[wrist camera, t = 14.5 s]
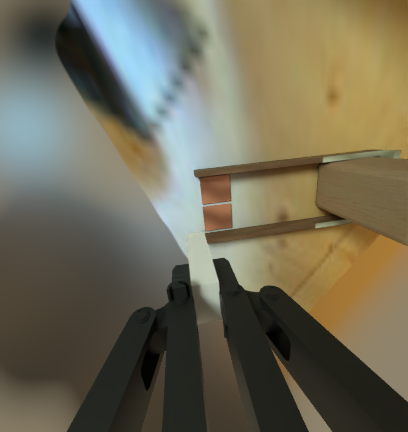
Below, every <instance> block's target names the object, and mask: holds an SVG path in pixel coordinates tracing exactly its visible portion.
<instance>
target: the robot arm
mask: <svg viewBox="0 0 408 432" xmlns="http://www.w3.org/2000/svg"><path fill="white" fill-rule="evenodd" d="M186 236H187V247H188V258H189V264H184V265H177V266H175V268H174V269H173V271H172V283H170V284H169V286H168V288H167V294H168V299H169V302H168V303H167V304H166V305H165V306H164V307H162V308H160V309H158V310H154V309H152V308H150V307H144V308H141V309H138V310H136V311H135V312H134V313H133V314H132V315H131V316H130V318H129V320H128V322H127V323H126V325H125V327H124V329H123V331H122V332H121V334H120V336H119V338H118V340H117V341H116V343H115V345H114V347H113V349H112V351H111V352H110V354H109V356H108V358H107V360H106V361H105V363H104V365H103V367H102V369H101V370H100V372H99V374H98V376H97V378H96V380H95V381H94V383H93V385H92V387H91V389H90V390H89V392H88V394H87V396H86V398H85V400H84V401H83V403H82V405H81V407H80V409H79V410H78V412H77V414H76V416H75V418H74V419H73V422H72V423H71V425H70V427H69V429H68V431H67V432H141V429H142V425H143V422H144V419H145V415H146V412H147V409H148V405H149V401H150V399H151V395H152V392H153V389H154V385H155V382H156V379H157V375H158V372H159V368H160V365H161V362H162V358H163V355H164V351H166V368H165V387H164V405H163V423H162V432H209V424H208V415H207V406H206V396H205V388H204V378H203V369H202V361H201V352H200V343H199V334H198V327H197V324H201V323H206V322H212V321H217V320H222V318H223V325H224V337H225V338H226V339H227V343H228V347H229V351H230V355H231V360H232V364H233V367H234V371H235V376H236V380H237V384H238V388H239V392H240V396H241V400H242V404H243V408H244V412H245V416H246V420H247V424H248V428H249V432H309V431H308V429H307V427H306V425H305V423H304V420H303V418H302V416H301V414H300V411H299V409H298V407H297V405H296V403H295V401H294V398H293V396H292V394H291V392H290V389H289V387H288V385H287V383H286V381H285V378H284V376H283V374H282V372H281V370H280V368H279V365H278V363H277V361H276V359H275V357H274V354H273V352H272V350H273V351H274V353H275V354H276V355H277V357H278V358H279V359H280V361H281V362H282V364H283V365H284V366H285V368H286V369H287V370H288V372H289V373H290V374H291V376H292V377H293V379H294V380H295V381H296V383H297V384H298V385H299V387H300V388H301V389H302V391H303V392H304V394H305V395H306V396H307V398H308V399H309V400H310V402H311V403H312V404H313V405H314V407H315V409H316V410H317V411H318V413H319V414H320V415H321V417H322V418H323V419H324V421H325V422H326V424H327V425H328V426H329V428H330V429H331V430H332V432H408V402H407V401H406V400H404V398H403V397H401V396H400V395H399V394H398V393H397V392H396V391H394V389H392V388H391V387H390V386H389V385H388V384H387V383H386V382H385V381H384V380H382V379H381V378H380V377H379V376H378V375H377V374H376V373H375V372H373V371H372V370H371V369H370V368H369V367H368V366H367V365H366V364H364V363H363V362H362V361H361V360H360V359H359V358H358V357H357V356H356V355H354V354H353V353H352V352H351V351H350V350H349V349H348V348H346V347H345V346H344V345H343V344H342V343H341V342H340V341H339V340H337V338H335V337H334V336H333V335H332V334H331V333H330V332H329V331H328V330H326V329H325V328H324V327H323V326H322V325H321V324H320V323H319V322H317V321H316V320H315V319H314V318H313V317H312V316H311V315H309V313H307V312H306V311H305V310H304V309H303V308H302V307H301V306H300V305H298V304H297V303H296V302H295V301H294V300H293V299H292V298H291V297H290V296H288V295H287V294H286V293H285V292H284V291H283V290H281V289H280V288H278V287H275V286H264V287H263V288H261V289H260V291H259V292H250V291H247V290H244V289H243V287H242V286H241V285H239V284H238V281H237V279H236V277H235V274H234V272H233V270H232V268H231V265H230V263H229V261H228V260H226V259H225V258H219V259H213V260H212V257H211V254H210V251H209V247H208V244H207V241H206V237H205V234H204V232H197V233H190V234H186ZM270 347H271V348H270ZM271 349H272V350H271Z"/></svg>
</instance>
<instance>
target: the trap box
mask: <svg viewBox="0 0 408 432" xmlns="http://www.w3.org/2000/svg"><path fill="white" fill-rule="evenodd" d="M400 154H401V150H363V151H355V152H346V153H337V154H329V155H320V156H311V157H303V158H294V159H285V160H276V161H268V162H259V163H250V164H242V165H233V166H224V167H216V168H207V169H198V170H194V175H195V177H202V178H200V185H201V194H202V204H209V203H216V202H224V201H231V197H230V178H229V173H237V172H246V171H254V170H262V169H271V168H279V167H288V166H296V165H305V164H313V163H322V162H323V163H324V162H332V161H341V160H349V159H358V158H366V157H380V158H396V159H399V158H400ZM220 174H227V175H220ZM212 175H219V176H212ZM203 176H210V177H203ZM203 214H204V223H205V231H210V230H217V229H224V228H231V227H232V217H231V203H230V204H222V205H215V206H207V207H203ZM348 223H354V222H351V221H349V220H347V219H344V218H342V217H340V216H338V215H330V216H323V217H316V218H309V219H302V220H295V221H288V222H281V223H274V224H267V225H260V226H253V227H246V228H239V229H232V230H225V231H218V232H211V233H204V234H205V237H206V241H207V244H208V243H215V242H221V241H228V240H235V239H242V238H249V237H255V236H262V235H269V234H276V233H282V232H289V231H296V230H303V229H310V228H321V227H328V226H335V225H341V224H348Z"/></svg>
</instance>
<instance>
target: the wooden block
mask: <svg viewBox="0 0 408 432" xmlns="http://www.w3.org/2000/svg"><path fill="white" fill-rule="evenodd" d="M316 205H317V206H318V207H319V208H322V209H324V210H326V211H329V212H331V213H333V214H335V215H338V216H340V217H342V218H344V219H347V220H349V221H351V222H354V223H356V224H358V225H360V226H363V227H365V228H367V229H370V230H372V231H374V232H376V233H379V234H381V235H383V236H386V237H388V238H390V239H392V240H395V241H397V242H399V243H401V244H404V245H407V246H408V159H396V158H380V157H366V158H358V159H349V160H341V161H332V162H324V163H321V164H320V165H319V169H318V182H317V194H316Z"/></svg>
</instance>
